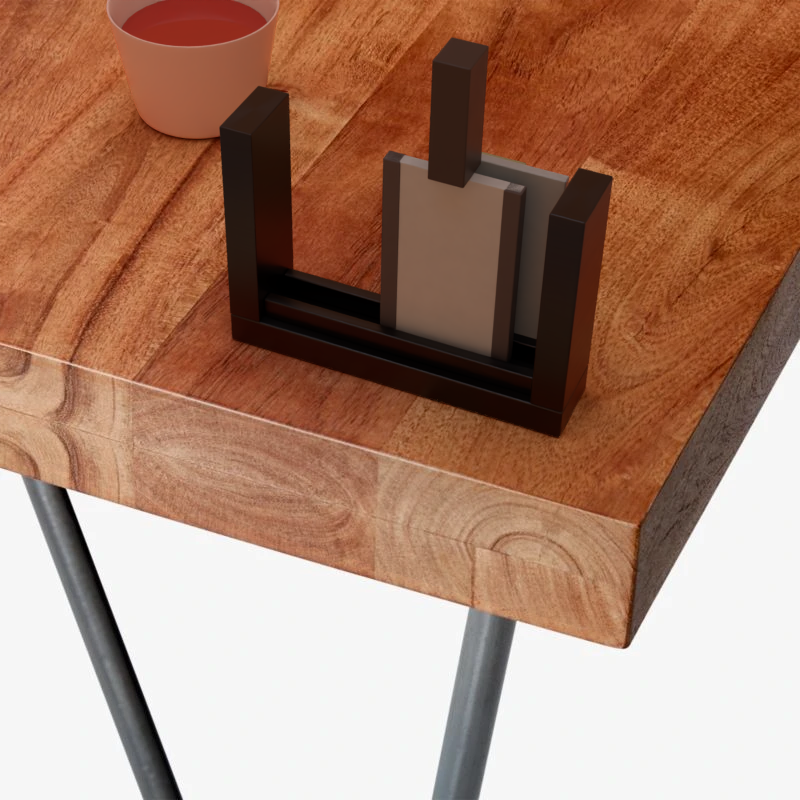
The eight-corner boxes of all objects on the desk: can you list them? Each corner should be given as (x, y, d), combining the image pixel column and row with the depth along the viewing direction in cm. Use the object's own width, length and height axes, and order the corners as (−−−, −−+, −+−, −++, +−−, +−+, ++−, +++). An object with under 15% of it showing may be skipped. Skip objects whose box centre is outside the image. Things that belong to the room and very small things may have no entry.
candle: (163, 51, 95) (155, -51, 91) (308, 83, 93) (306, -19, 89) (87, 131, 89) (74, 26, 85) (240, 167, 87) (235, 61, 82)
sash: (373, 338, 74) (377, 47, 64) (391, 313, 75) (398, 23, 65) (501, 376, 72) (526, 83, 62) (517, 349, 74) (544, 58, 64)
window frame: (231, 339, 76) (218, 126, 69) (266, 294, 79) (258, 84, 71) (559, 438, 72) (585, 223, 64) (585, 388, 74) (613, 175, 67)
